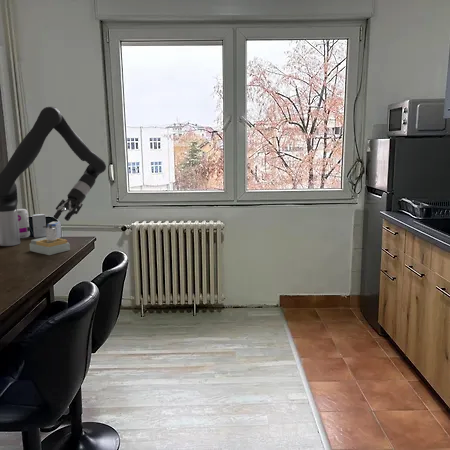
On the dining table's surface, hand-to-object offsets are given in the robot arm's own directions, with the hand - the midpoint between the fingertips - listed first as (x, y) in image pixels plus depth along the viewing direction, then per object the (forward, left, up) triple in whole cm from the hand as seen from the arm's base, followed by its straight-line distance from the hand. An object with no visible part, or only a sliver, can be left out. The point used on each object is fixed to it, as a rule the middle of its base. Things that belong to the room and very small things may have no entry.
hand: (60, 219), depth 199 cm
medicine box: (-23, +11, -15) cm, 30 cm away
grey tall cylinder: (0, -5, -14) cm, 15 cm away
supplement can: (-43, +4, -15) cm, 46 cm away
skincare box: (-35, +10, -15) cm, 39 cm away
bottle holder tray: (-2, -6, -14) cm, 16 cm away
